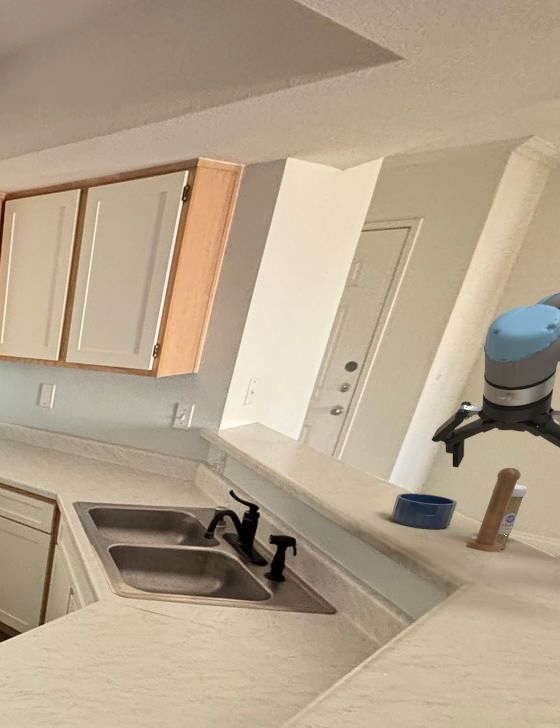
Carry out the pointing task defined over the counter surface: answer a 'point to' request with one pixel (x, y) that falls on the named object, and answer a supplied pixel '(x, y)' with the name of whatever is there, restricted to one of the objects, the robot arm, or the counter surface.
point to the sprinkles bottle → (510, 514)
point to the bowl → (423, 510)
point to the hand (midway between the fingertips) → (509, 467)
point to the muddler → (495, 512)
